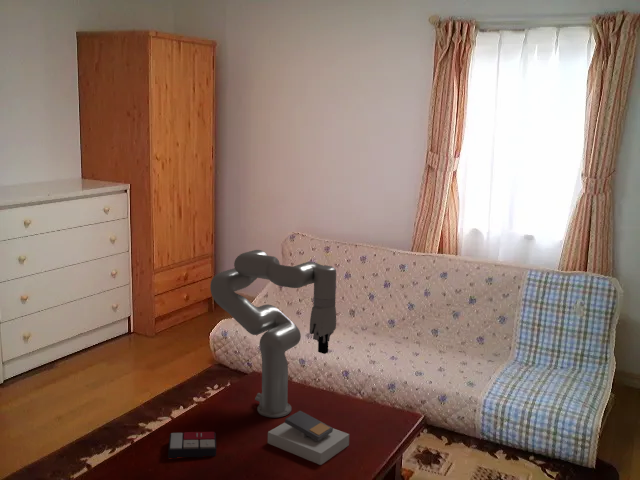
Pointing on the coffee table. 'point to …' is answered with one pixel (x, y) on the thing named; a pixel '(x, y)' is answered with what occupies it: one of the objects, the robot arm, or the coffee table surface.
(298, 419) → the rocker switch
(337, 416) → the coffee table surface
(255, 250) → the robot arm
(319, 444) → the switch box
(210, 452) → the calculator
